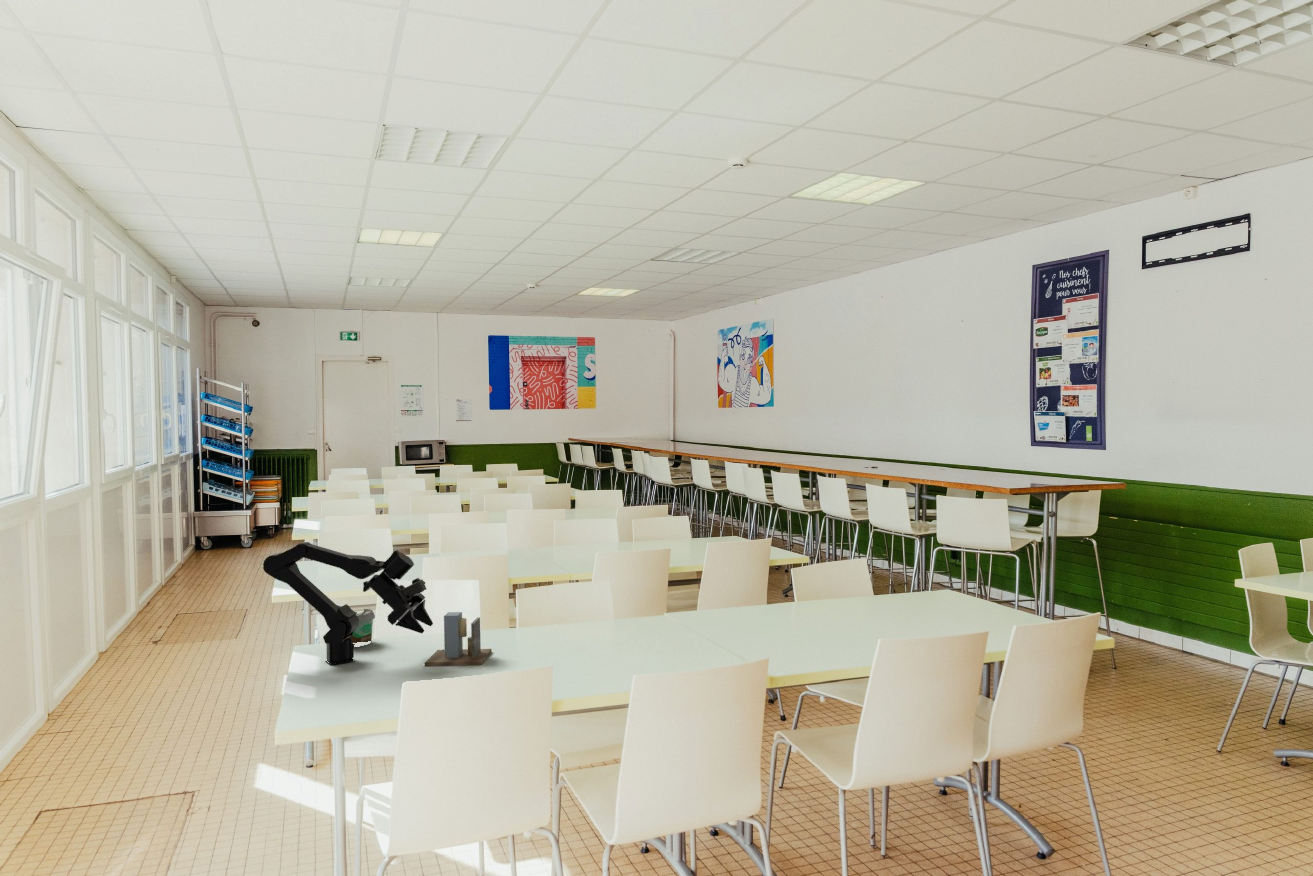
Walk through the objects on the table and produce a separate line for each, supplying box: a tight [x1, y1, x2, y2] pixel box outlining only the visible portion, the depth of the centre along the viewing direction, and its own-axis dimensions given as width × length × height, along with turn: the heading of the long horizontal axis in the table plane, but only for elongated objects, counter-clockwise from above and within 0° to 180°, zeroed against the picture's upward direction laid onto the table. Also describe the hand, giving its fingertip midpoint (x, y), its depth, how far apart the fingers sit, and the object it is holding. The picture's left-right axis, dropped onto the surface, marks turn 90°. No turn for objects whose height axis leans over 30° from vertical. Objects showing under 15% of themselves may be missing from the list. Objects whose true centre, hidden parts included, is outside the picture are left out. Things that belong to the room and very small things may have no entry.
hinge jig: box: [424, 617, 492, 667], centre depth 237 cm, size 16×14×11 cm
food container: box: [349, 608, 376, 645], centre depth 256 cm, size 12×6×10 cm, turn 168°
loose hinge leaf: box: [443, 611, 468, 658], centre depth 237 cm, size 6×5×12 cm
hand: (427, 628), depth 236 cm, fingers open, 9 cm apart
